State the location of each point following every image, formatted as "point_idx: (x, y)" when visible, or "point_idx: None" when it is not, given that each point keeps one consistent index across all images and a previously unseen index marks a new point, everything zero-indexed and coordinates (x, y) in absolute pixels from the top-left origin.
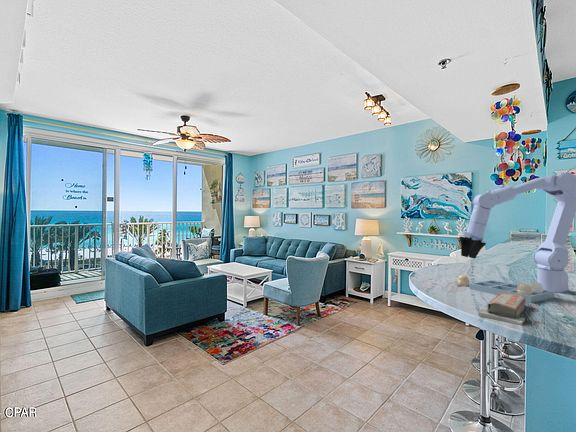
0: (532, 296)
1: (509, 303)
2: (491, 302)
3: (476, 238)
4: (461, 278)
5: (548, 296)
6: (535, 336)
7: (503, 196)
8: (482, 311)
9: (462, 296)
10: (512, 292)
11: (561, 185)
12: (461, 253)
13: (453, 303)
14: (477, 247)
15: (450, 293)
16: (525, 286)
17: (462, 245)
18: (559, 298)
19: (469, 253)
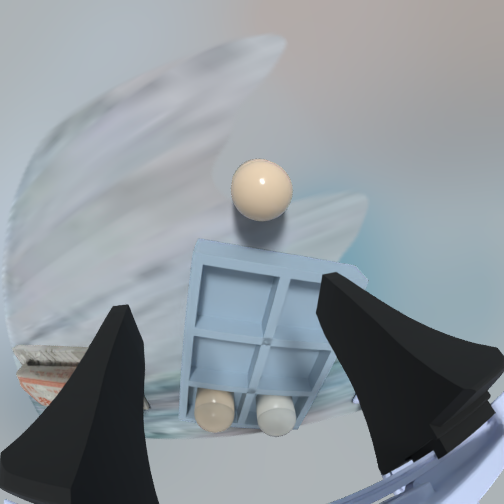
0: (186, 420)
1: (48, 402)
2: (20, 380)
3: (409, 489)
4: (234, 195)
5: None
6: (34, 404)
7: None
8: (20, 353)
9: (96, 260)
10: (180, 392)
11: None
12: (104, 321)
13: (21, 279)
14: (373, 401)
15: (95, 210)
16: (201, 427)
17: (69, 399)
18: (329, 407)
19: (141, 380)
